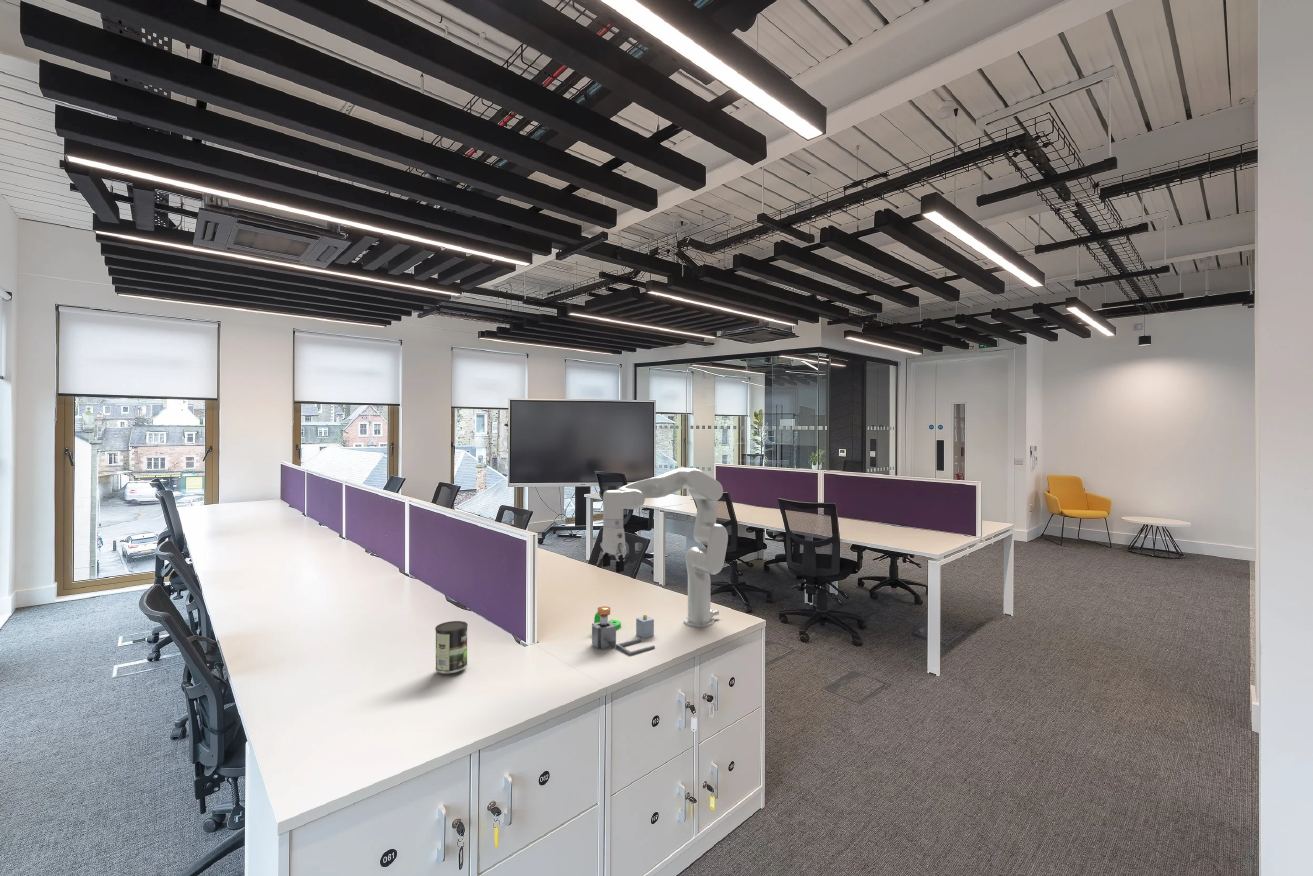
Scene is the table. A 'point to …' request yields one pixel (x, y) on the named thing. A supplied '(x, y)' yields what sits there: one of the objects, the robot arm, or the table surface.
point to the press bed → (621, 645)
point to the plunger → (604, 615)
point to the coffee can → (451, 646)
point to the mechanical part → (616, 622)
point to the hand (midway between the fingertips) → (612, 569)
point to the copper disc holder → (603, 636)
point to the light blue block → (644, 626)
